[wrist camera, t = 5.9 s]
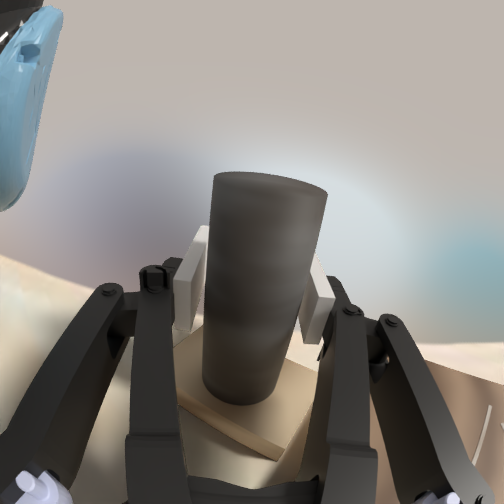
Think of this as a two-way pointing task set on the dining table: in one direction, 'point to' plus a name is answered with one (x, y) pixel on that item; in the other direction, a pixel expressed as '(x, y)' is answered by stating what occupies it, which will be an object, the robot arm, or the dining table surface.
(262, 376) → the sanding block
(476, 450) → the walnut board
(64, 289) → the dining table surface
